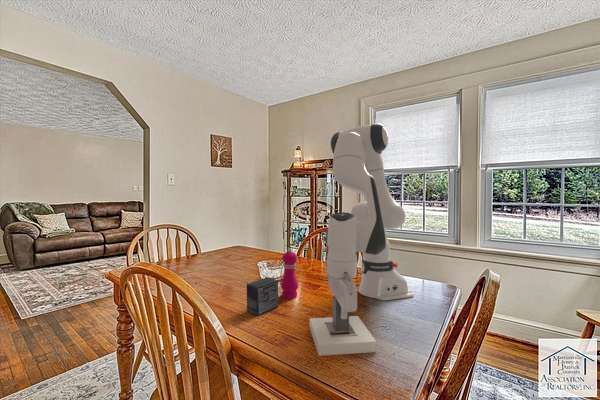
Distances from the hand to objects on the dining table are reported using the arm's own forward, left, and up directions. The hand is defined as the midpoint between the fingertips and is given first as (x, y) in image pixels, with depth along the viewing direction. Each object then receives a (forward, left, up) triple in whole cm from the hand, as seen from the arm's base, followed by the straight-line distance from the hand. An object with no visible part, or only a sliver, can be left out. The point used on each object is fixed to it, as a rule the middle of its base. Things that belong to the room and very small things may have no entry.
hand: (341, 314), depth 88 cm
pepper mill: (+12, -36, -8) cm, 39 cm away
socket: (0, 0, -8) cm, 8 cm away
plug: (0, 0, -4) cm, 4 cm away
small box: (+23, -24, -8) cm, 34 cm away
